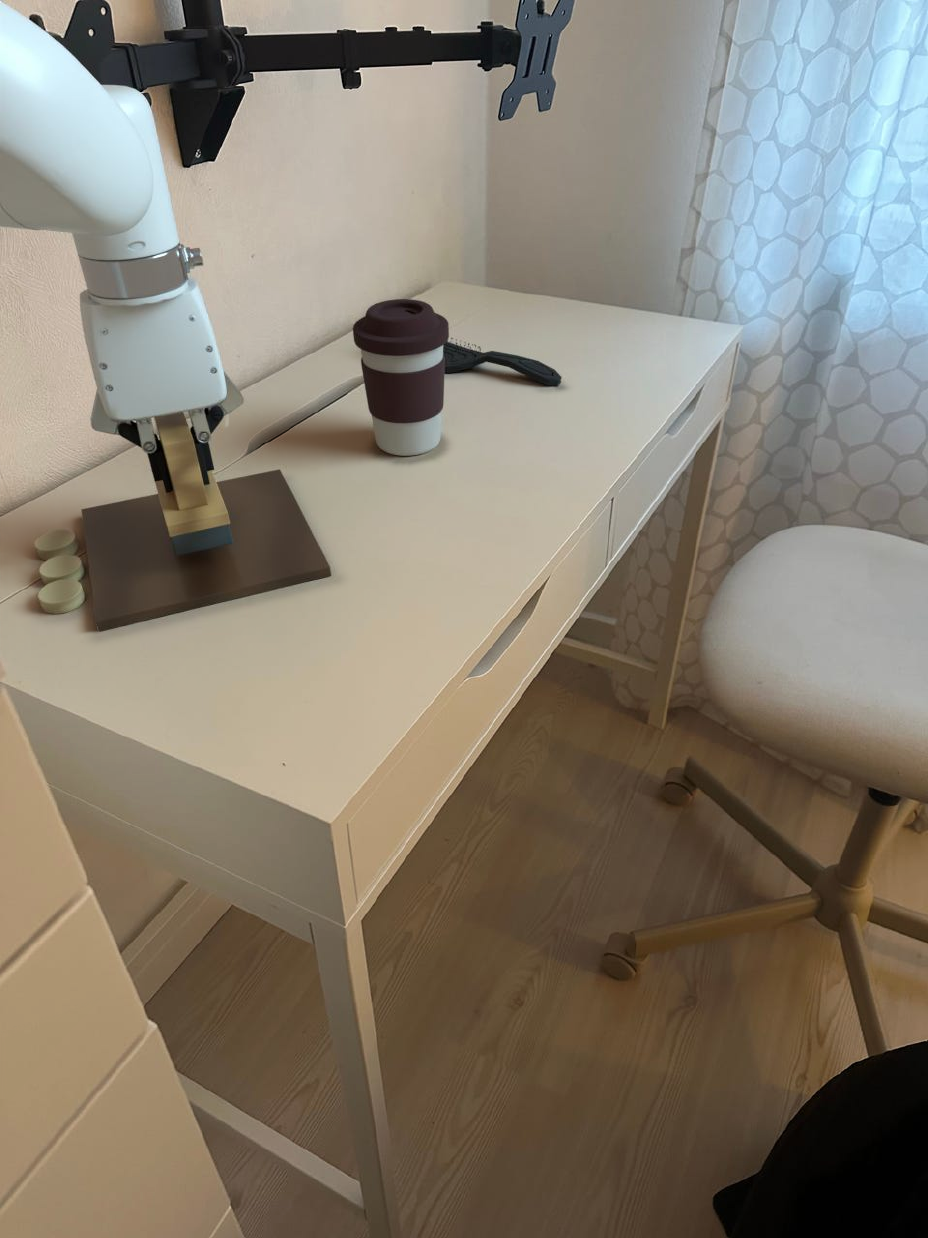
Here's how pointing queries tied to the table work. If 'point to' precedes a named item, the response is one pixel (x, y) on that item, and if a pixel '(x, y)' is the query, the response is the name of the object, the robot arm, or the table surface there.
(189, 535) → the brush
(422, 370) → the coffee cup
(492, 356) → the hairbrush
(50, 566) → the disc
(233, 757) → the table surface
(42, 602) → the token
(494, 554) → the table surface
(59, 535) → the token
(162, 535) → the tray
